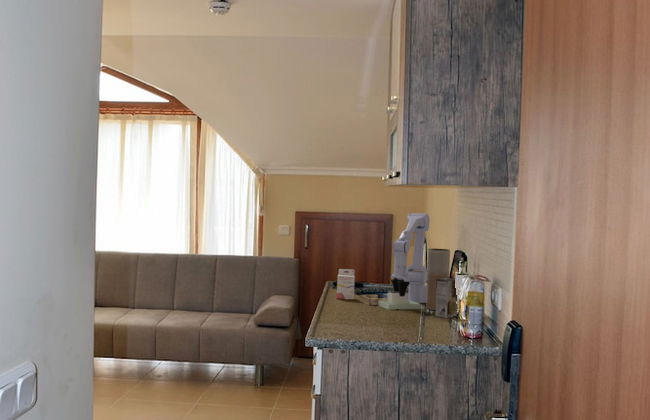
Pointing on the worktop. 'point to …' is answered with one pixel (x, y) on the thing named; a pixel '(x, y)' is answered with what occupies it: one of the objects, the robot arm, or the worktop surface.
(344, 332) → the worktop surface
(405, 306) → the tray
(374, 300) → the frame
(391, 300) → the block
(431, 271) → the tall taupe carton
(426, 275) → the robot arm
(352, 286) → the ink cartridge box
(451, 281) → the coffee box
